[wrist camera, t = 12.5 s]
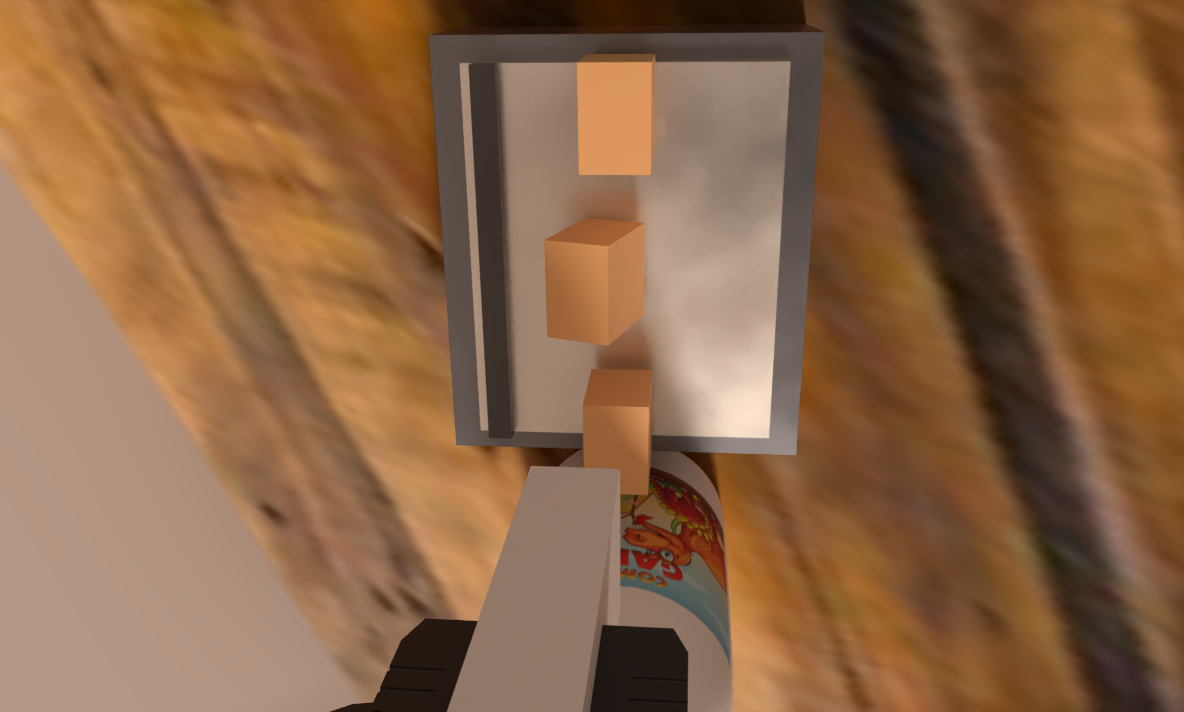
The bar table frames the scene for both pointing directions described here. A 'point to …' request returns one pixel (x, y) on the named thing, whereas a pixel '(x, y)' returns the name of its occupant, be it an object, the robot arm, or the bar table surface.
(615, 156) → the orange tall rectangular block
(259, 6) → the bar table surface
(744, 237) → the gray rectangular tray
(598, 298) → the small orange block
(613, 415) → the tan wooden block
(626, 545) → the milk bottle
